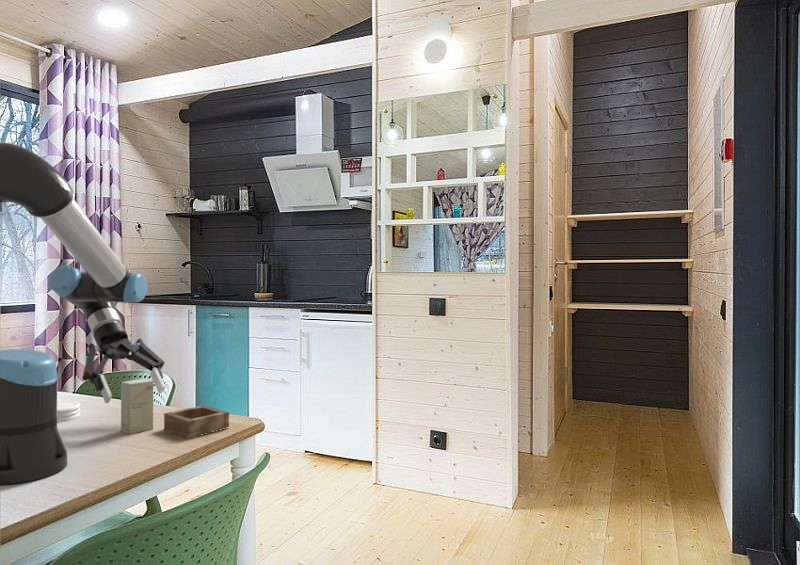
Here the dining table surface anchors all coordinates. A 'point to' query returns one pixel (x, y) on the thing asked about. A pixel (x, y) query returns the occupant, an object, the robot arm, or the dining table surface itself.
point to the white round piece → (67, 410)
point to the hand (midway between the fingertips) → (136, 395)
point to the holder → (196, 421)
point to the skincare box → (136, 405)
